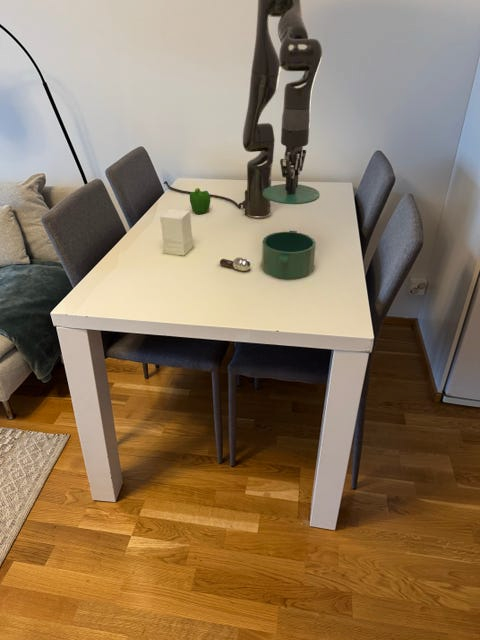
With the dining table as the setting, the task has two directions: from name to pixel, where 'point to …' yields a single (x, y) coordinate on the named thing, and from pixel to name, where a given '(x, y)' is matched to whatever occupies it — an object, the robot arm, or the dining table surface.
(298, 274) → the pot
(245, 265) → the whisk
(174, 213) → the white packaging box
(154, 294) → the dining table surface
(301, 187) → the lid
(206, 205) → the bell pepper
